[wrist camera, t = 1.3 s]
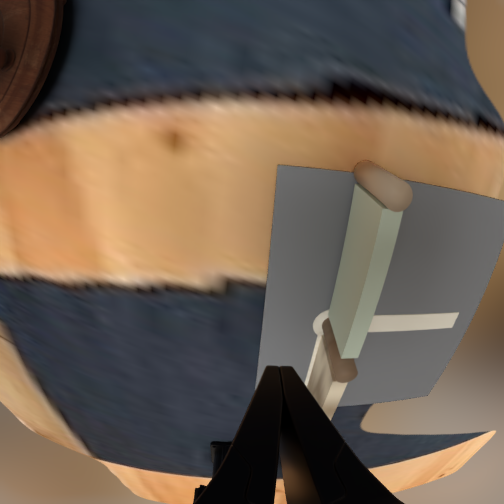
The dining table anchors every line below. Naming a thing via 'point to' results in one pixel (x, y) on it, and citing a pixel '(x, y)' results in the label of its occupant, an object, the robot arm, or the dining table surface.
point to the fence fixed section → (330, 372)
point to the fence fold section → (366, 253)
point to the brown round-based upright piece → (25, 54)
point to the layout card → (395, 286)
